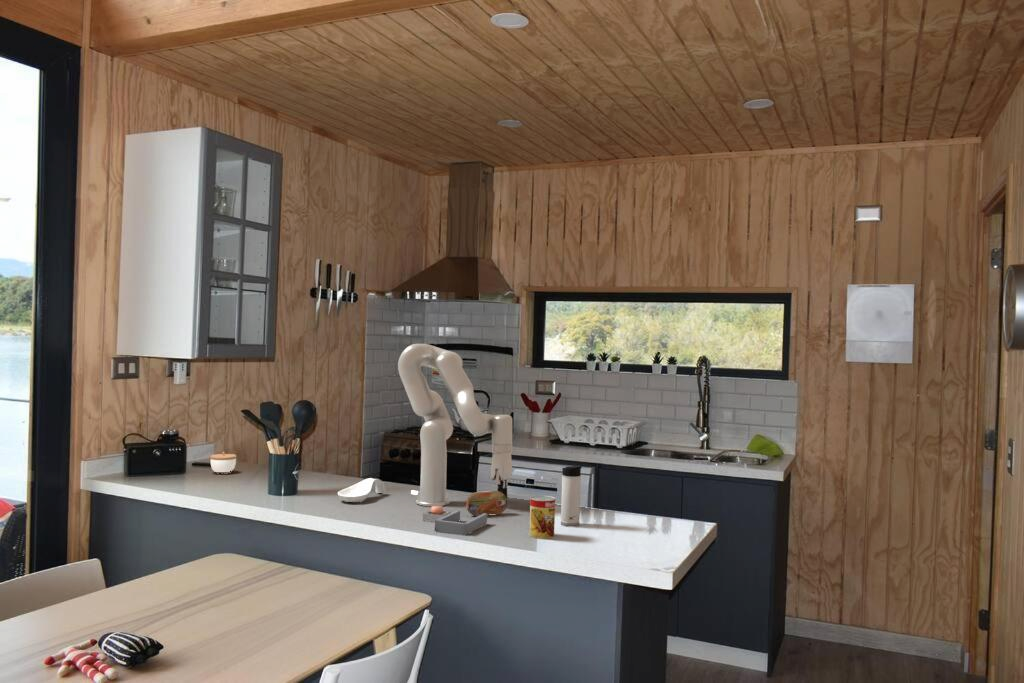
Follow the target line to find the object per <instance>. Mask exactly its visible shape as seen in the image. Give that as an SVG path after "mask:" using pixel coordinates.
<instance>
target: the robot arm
mask: <svg viewBox="0 0 1024 683" xmlns="http://www.w3.org/2000/svg"><path fill="white" fill-rule="evenodd" d="M463 364H464V363H463V359H462V357H461V356H460V355H459V354H458V353H457V352H454V351H451V350H447V349H444V348H441V347H437V346H435V345H431V344H429V343H414V344H410V345H409V346H407V347H406V348H405V349H404V350H403V351H402V352H401V354H400V356H399V358H398V362H397V369H398V374H399V376H400V377H399V378H400V381H401V382H402V384H403V387H404V389H405V392H406V395H407V397H408V399H409V403H410V405H411V408H412V410H413V412H414V413H415V414H416V415H417V416H419V417H422V418H423V419H424V422H423V424H422V426H421V428H420V431H419V432H420V434H419V438H420V454H421V455H420V484H419V485H420V486H419V487H420V488H419V489H420V490H416V489H414V490H413V489H412V490H411V491H410V495H411V497H416V499H415V504H417V505H418V504H419V506H424V507H432V506H442V507H443V506H447V505H449V504H450V503H451V500H450V499H449V498H447V496H446V495H447V468H448V467H447V465H448V464H447V463H448V461H447V460H448V459H447V458H448V454H447V453H448V452H447V450H448V449H447V448H448V447H447V440H448V439H449V438H450V437H451V436H452V435H453V431H454V425H453V421H452V419H451V416H450V414H449V412H448V410H447V408H446V405H445V403H444V400H443V398H442V397H441V395H440V394H439V393H438V392H437V391H436V390H431V388H430V386H429V384H428V381H427V379H426V377H425V375H424V374H423V372H422V367H426V368H429V369H433V370H436V371H437V372H438V374H439V375H440V377H441V379H442V381H443V383H444V384H445V386H446V388H447V390H448V391H449V393H450V395H451V397H452V400H453V402H454V404H455V406H456V409H457V412H458V415H459V416H460V418H461V420H462V422H463V424H464V425H465V427H466V428H467V430H468V431H469V433H470V434H472V435H473V436H476V437H481V436H484V435H487V434H491V453H492V457H491V463H490V464H491V465H490V466H491V469H490V480H491V481H495V485H496V488H497V491H500V492H502V493H503V494H504V495H505V496H506V499H508V481H509V480H510V478H511V477H512V474H513V473H512V472H513V464H512V462H513V460H512V453H513V417H512V416H511V415H509V414H489V413H483V412H482V411H481V410H480V408H479V406H478V403H477V401H476V398H475V394H474V385H473V384H472V382H471V380H470V378H469V377H468V375H467V373H466V372H465V370H464V368H463Z"/></svg>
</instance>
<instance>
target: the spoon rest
mask: <svg viewBox="0 0 1024 683" xmlns="http://www.w3.org/2000/svg"><path fill="white" fill-rule="evenodd" d="M374 484H375V491H374V492H376V493H375V494H377V493H387V491H386V487H385V484H384V482H383V481H382V480H381V479H379V478H372V477H369V478H365V479H363V480H361V481H359V482H357V483H355V484H353V485H351V486H348V487H346V488H343V489H341V490H339V491H337V496H338V497H339V499H340V500H342V501H343V502H345V501H346V502H345V503H347V502H360V503H362V502H361V501H363V502H364V501H365V500H366V499H367V498H368V497H369V496H370V494H371V491H372V488H373V485H374Z"/></svg>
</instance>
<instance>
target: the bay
mask: <svg viewBox="0 0 1024 683" xmlns="http://www.w3.org/2000/svg"><path fill="white" fill-rule="evenodd" d="M459 520H460V521H459ZM457 521H459V522H457ZM486 523H487V524H488V516H487V514H486V513H483V514H481V515H479V516H477V517H476V516H475V517H474V518H471V519H470V520H468V521H466V522H461V510H455V511H452V512H451V513H450V514H448V515H446V516H444V517H442V518H439V519H437V520H435V522H434V532H435V531H436V532H437V533H443V532H444V534H451V533H453V535H459V534H462V535H461V536H468V535H470V534H471V533H470V532H472V531H473V532H475V531H477V530H479V529H480V528H479V527H481V526H483V525H484V526H486V525H487V524H486ZM485 524H486V525H485ZM484 526H483V527H484ZM478 528H479V529H478ZM481 528H482V527H481ZM476 529H477V530H476ZM474 530H475V531H474ZM473 532H472V533H473ZM469 533H470V534H469ZM467 534H468V535H467Z"/></svg>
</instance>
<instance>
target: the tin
mask: <svg viewBox="0 0 1024 683" xmlns="http://www.w3.org/2000/svg"><path fill="white" fill-rule="evenodd" d="M507 499H508V498H507ZM507 499H506V496H505V495H504V494H503V493H502V492H500V491H498V490H489V491H477V492H472V493H471V494H470V495H469V496H468V497H467V499H466V502H465V503H466V504H465V505H466V506H465V507H466V510H467V512H468V513H469V514H470V515H472V516H474V517H476V516H479V515H481V514H483V513H486V514H487V515H489V514H499V515H501V514H502V513H504V512H505V510H506V508H507V506H508V500H507Z"/></svg>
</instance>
